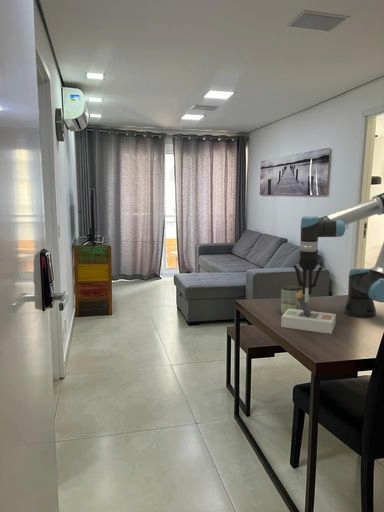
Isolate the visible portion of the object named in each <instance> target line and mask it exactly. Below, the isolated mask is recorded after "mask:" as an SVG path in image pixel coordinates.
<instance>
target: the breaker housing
mask: <svg viewBox="0 0 384 512" xmlns="http://www.w3.org/2000/svg"><path fill="white" fill-rule="evenodd" d="M280 317H281V321H280V325H281V326H280V327H281V328H286V329H293V330H301V331H309V332H315V333H323V334H328V333H329V335H332V334H333V331H334V329H335V326H336V318H337V315H336V313H329V312H321V311H314V310H311V313H310V314H309V316H305V315H304V311H303V309H301V310H297V309H288V310H287V311H286V312H285V313H284V314H282V316H280Z"/></svg>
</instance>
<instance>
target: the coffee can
mask: <svg viewBox="0 0 384 512" xmlns="http://www.w3.org/2000/svg"><path fill="white" fill-rule="evenodd" d="M280 286H281V287H280V289H281V290H280V313H281V314H282V315H283V314H284V313H285V312H286V311H287V310H288V309H297V310H302V307H301V305H300V303H299V300H298V299H297V298H296V296H295V295H296V294H297V293H299V292H301V291H302V289H303V287H302V286H299V284H295V283H287V284H286V283H285V284H282V285H280Z"/></svg>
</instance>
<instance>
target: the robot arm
mask: <svg viewBox="0 0 384 512" xmlns="http://www.w3.org/2000/svg"><path fill="white" fill-rule="evenodd" d="M375 215H377V216H381V215H384V192H382V193H380V194H377V195H374V196H372V197H371V199H370V200H366V201H364V202H361V203H358V204H355V205H352V206H350V207H346V208H344V209H342V210H339V211H336V212H333V213H329V214H327V215H324V216H321V217H319V216H317V215H316V216H315V215H313V216H312V215H305V216H302V217H301V221H300V243H299V244H300V245H299V249H300V251H299V260H298V263H296V264H294V265H293V269H294V270H295V273H296V278H297V283H298V285H299V286H302V291H303V294H304V296H305V302H307V303H309V301H310V296H311V295H312V292H313V289H312V288H315V287H316V286H317V283H318V280H319V279H320V278H319V277H320V274H321V271H322V270H323V269H324V266H321V265H320V264H319V262H318V251H317V250H318V246H319V244H318V243H319V238H338V237H340V238H342V237H343V236H344V235H345V231H346V226H347V225H351V224H352V223H356V222H358V221H362V220H365V219H367V218H369V217H372V216H375ZM300 268H301V270H302V274H303V275H301V270H300ZM315 269H316V274H315V277H314V280H313V274H314V270H315ZM307 279H308V282H307ZM307 283H308V285H307ZM347 288H348V291H347V295H348V296H347V299H346V301H345V304H344V306H343V313H344V314H345V315H348V316H351V317H356V318H374V317H375V316H376V315H377V308H376V305H375V303H374V302H377V303H384V242H383V243H382V245H381V247H380V251H379V253H378V256H377V260H376V262H375V264H374V266H373V267H371V268H352V269H350V270H349V272H348V287H347Z"/></svg>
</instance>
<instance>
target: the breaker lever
mask: <svg viewBox="0 0 384 512" xmlns="http://www.w3.org/2000/svg"><path fill="white" fill-rule="evenodd" d="M295 296H296V298H297V299H298V300H299V303H300V305H301V310H303V311H304V315H305V316H309V314H310V313H311V311H312V309H311V308H310V305H309V302H305V294H303V290H301V292H299V293H297V294H296V295H295Z"/></svg>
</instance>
